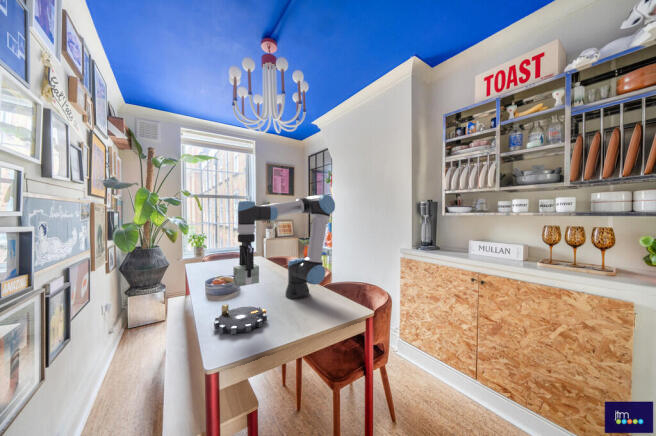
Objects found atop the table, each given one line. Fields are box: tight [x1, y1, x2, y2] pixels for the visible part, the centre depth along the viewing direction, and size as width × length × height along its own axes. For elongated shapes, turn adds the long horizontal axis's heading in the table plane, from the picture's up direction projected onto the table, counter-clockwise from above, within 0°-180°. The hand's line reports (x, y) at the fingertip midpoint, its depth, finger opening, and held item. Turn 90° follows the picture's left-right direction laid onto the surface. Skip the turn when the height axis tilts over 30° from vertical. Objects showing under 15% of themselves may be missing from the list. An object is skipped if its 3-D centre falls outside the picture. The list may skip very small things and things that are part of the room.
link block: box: [232, 263, 260, 288], centre depth 107 cm, size 6×10×8 cm, turn 128°
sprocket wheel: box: [213, 303, 268, 335], centre depth 107 cm, size 23×23×7 cm
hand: (246, 282), depth 107 cm, fingers closed on link block, 6 cm apart
